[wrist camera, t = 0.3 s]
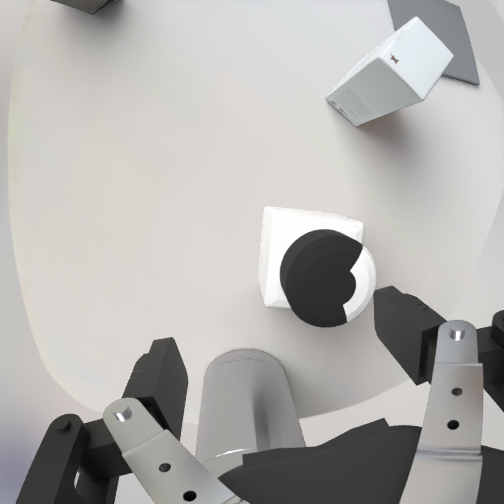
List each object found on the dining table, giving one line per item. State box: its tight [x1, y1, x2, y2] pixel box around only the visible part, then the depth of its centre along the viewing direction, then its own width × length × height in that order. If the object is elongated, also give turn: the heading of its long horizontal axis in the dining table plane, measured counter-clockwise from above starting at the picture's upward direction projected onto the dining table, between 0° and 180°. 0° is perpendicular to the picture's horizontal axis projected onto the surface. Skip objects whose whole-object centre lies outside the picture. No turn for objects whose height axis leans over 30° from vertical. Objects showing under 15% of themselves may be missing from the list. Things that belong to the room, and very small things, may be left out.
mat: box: [387, 0, 480, 85], centre depth 25 cm, size 12×12×1 cm
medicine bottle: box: [257, 207, 377, 327], centre depth 24 cm, size 7×7×12 cm
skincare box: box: [325, 17, 454, 126], centre depth 21 cm, size 6×4×12 cm
